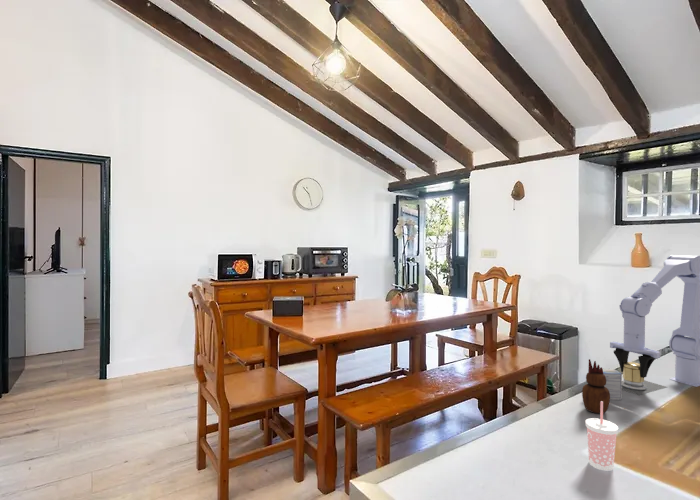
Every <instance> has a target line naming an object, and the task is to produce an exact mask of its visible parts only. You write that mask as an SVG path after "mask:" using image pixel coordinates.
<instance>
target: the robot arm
mask: <svg viewBox="0 0 700 500" xmlns="http://www.w3.org/2000/svg"><path fill="white" fill-rule="evenodd" d="M675 278H678V279H680V280H681V281H682V282H683V283H684V285H683V287H684V288H683V294H682V295H683V298H682V305H681V316H680V325H679V327H678V328H676V329H674V330H672V333H671V337H670V339H669V341H668V342H669V343H668V345H669V348H670V350H671V351H672V353H673V355H675V356H674V357H675V359H674V362H675V364H674V366H675V367H674V369H675V370H674V371H675V372H674V377H670V378H669V381H673V382H677V383H681V384H684V385H688V386H692V387H695V388H696V387H697V388H698V387H700V255H679V254H678V255H676V254H671V255H669V256H667V257H666V259H665V260H664V261H663V266H662V268H661V269H660V271H659V272H658V273H657V274H656V275H655V277H653V279H652V280H651V281H646V282H643V283H641V286H640V287H639V288H638V289H637V290H635V292H634V293H632V294H631V296H626V297H625V298H623V299H622V300H621V301H620V304H619V309H620V311H621V315H622V319H623V342H619V341H610V342H609V348H611V349H613V354H614V356H615V357H616V359H617V361H618V364H619V367H620V373H621V372H622V373H623V366H624V362H629V354H630V353H634V354H637V355H639V356H638V361H639V364H640V377H642V378H644V379H645V378H647V375H648V372H649V370H650V367H651V366H652V364H653V362H654V361H655V360H656V359H660V358H661V351H658V350H655V349H652V348H651V349H650V348H648V347H645V345H646V317H647V315H649V313H650V312H651V308H652V306H653V303H654V302H655V301H656V300H657V299H658V298H659V297H660V296H661V295H662V293H663V290H662V289H663V288H664V287H665V286H666V285H667V284H669V283H670V282H671V281H672V280H673V279H675Z"/></svg>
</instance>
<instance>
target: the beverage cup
mask: <svg viewBox="0 0 700 500" xmlns="http://www.w3.org/2000/svg"><path fill="white" fill-rule="evenodd" d="M599 414H600V415H599V416H600V418H596V417H592V418H591V417H590V418H587V419H585V421H584V422H585V427H586V434H587V453H588V464H589V465H590V466H591V467H593V468H595V469H596V470H599V471H603V472H606V471H607V472H609V471H610V472H611V471H613V470H614V469H615V468H614V467H615V457H616V456H615V455H616V443H617V434H618V433H619V426H618V425H617V424H616V423H614V422H612V421H609V420H606V419H604V413H603V401H601V405H600V413H599Z"/></svg>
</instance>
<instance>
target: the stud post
mask: <svg viewBox="0 0 700 500" xmlns="http://www.w3.org/2000/svg"><path fill="white" fill-rule="evenodd" d="M622 387H624V388H627V389H631V390H637V391H644V390H646V389H647V387H646V385H644V382H631V381H628V380H625V379H624V378H623V380H622Z"/></svg>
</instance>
